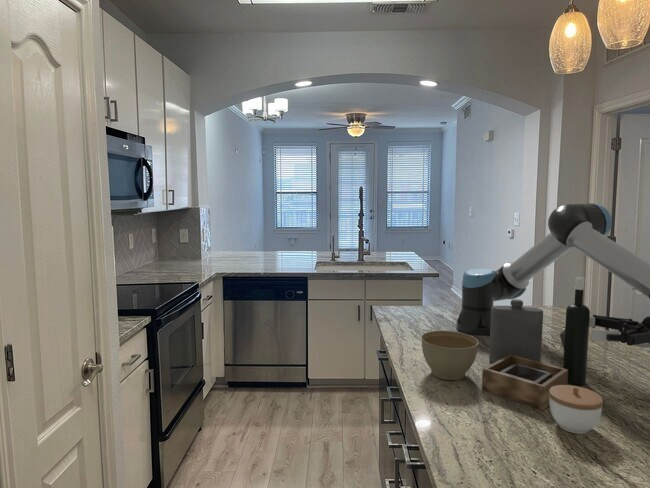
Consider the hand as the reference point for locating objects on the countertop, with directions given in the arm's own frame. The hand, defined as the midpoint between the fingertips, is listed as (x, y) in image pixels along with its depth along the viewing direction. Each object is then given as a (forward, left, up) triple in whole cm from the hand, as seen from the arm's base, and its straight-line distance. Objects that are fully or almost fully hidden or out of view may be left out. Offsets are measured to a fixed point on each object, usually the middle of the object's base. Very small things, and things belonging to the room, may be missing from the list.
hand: (580, 328), depth 126 cm
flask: (-19, +2, -16) cm, 25 cm away
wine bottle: (-1, 0, -16) cm, 16 cm away
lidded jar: (+8, -27, -16) cm, 32 cm away
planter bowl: (-28, -21, -16) cm, 39 cm away
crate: (-8, -16, -16) cm, 24 cm away
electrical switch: (-9, +22, -16) cm, 29 cm away
